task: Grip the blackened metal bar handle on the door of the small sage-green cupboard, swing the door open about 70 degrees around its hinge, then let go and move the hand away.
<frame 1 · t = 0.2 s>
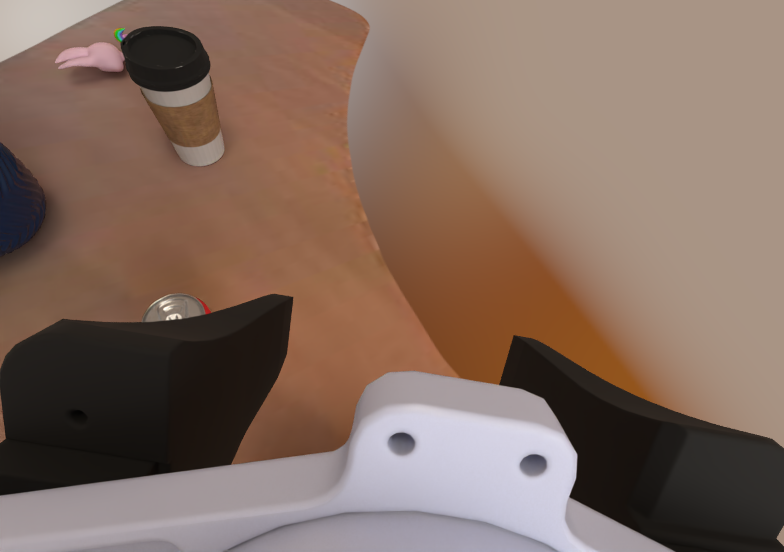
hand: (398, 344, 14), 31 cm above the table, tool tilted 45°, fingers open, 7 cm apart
coffee cup: (202, 151, 58), on the table
lamp: (0, 229, 49), on the table
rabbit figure: (123, 69, 64), on the table
beverage can: (213, 367, 44), on the table
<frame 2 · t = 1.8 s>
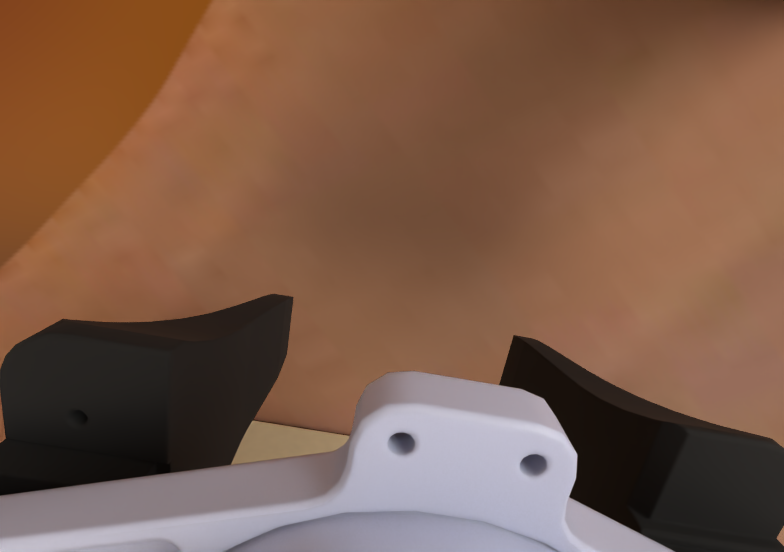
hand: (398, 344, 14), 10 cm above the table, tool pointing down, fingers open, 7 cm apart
door: (248, 447, 21), point 5 cm above the table, hinge at 0.0°
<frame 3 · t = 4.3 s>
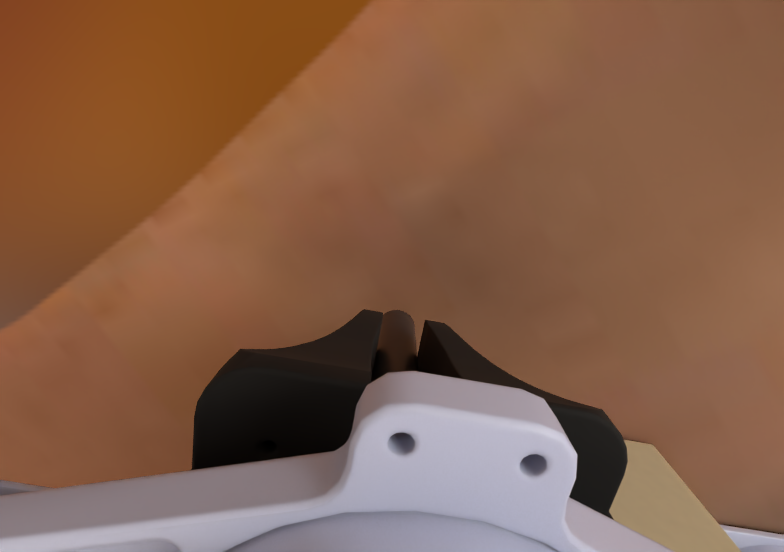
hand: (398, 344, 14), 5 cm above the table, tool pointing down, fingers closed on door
door: (546, 450, 15), point 5 cm above the table, hinge at 0.0°, touching gripper
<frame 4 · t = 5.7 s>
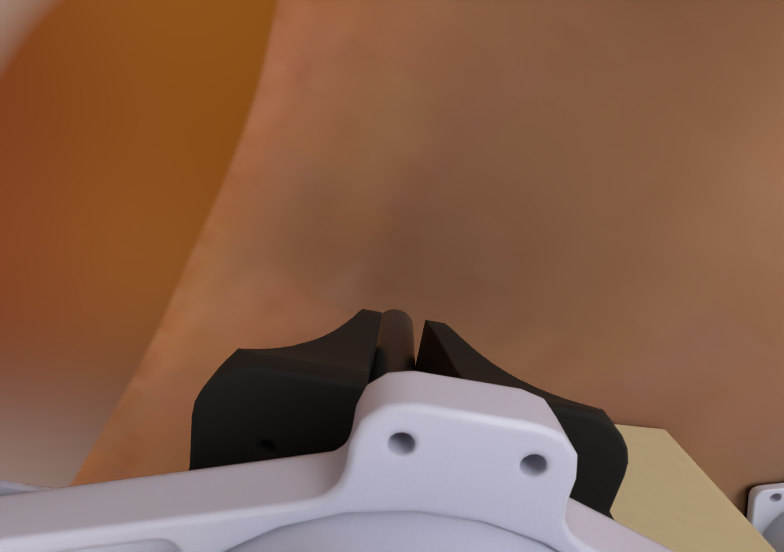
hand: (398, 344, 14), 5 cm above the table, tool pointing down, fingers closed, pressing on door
door: (551, 440, 15), point 5 cm above the table, hinge at 16.2°, touching gripper
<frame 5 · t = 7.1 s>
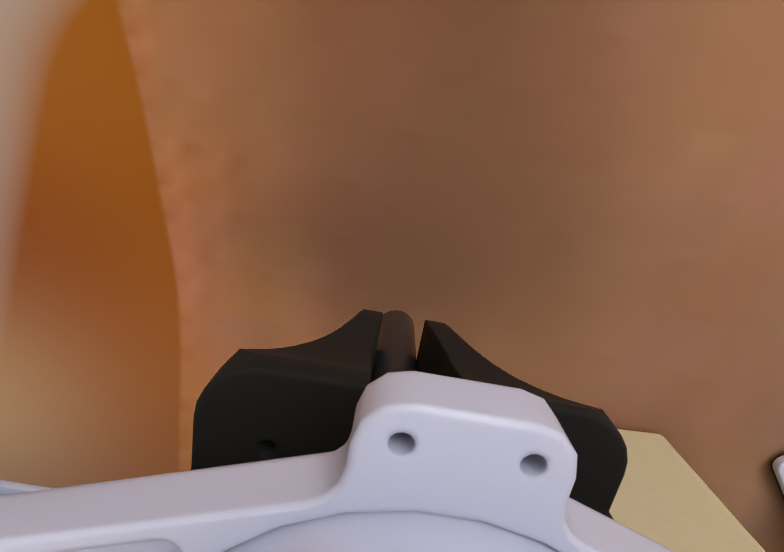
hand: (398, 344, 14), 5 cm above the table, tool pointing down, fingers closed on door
door: (550, 444, 15), point 5 cm above the table, hinge at 37.9°, touching gripper
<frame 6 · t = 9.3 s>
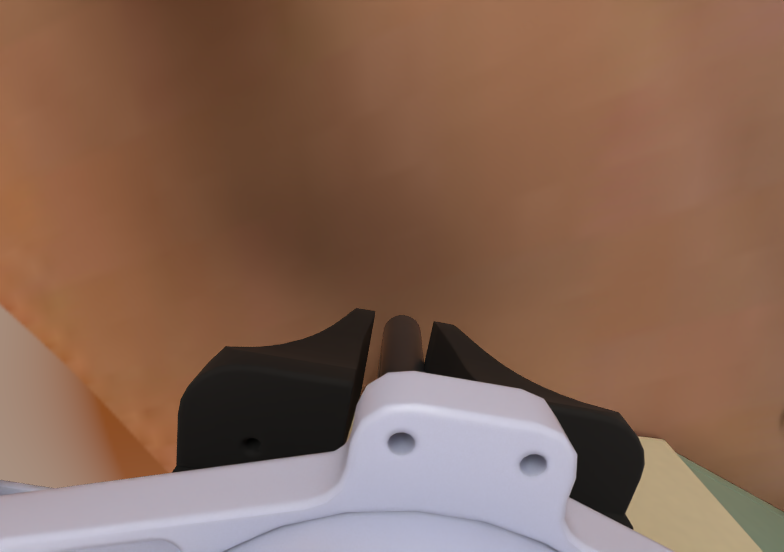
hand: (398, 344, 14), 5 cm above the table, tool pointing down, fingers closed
door: (556, 450, 15), point 5 cm above the table, hinge at 67.8°, touching gripper
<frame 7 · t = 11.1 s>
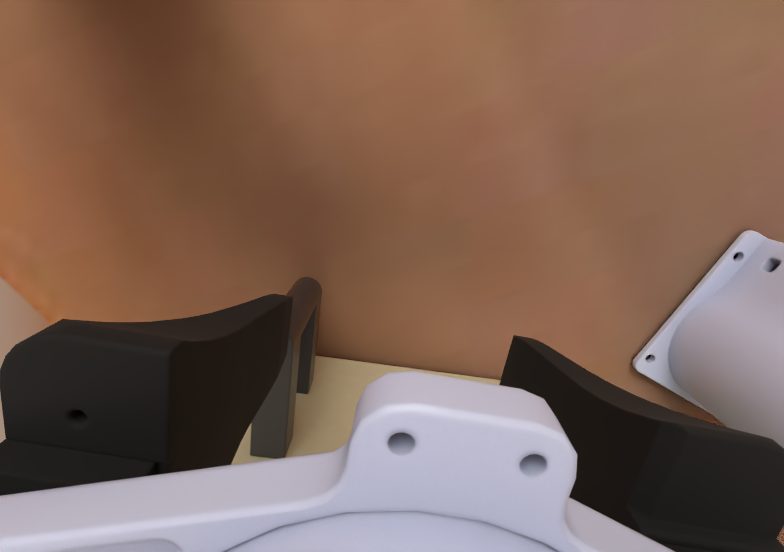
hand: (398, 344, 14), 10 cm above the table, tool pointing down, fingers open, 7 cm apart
door: (417, 377, 20), point 5 cm above the table, hinge at 67.8°
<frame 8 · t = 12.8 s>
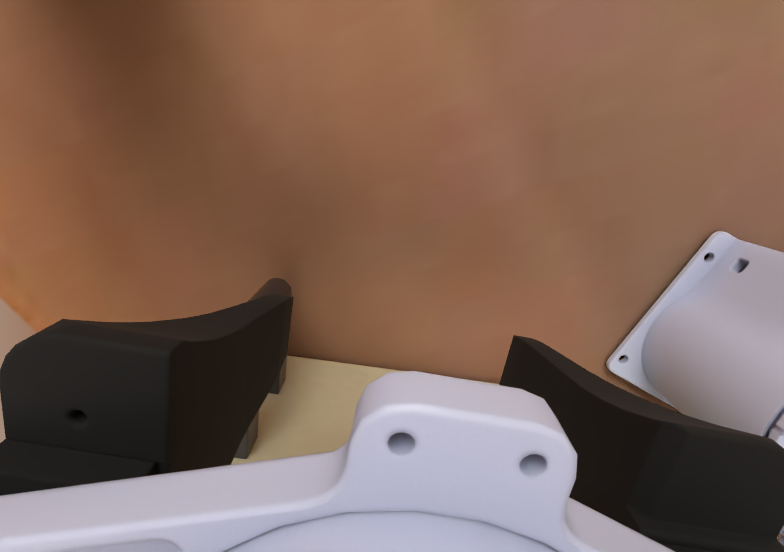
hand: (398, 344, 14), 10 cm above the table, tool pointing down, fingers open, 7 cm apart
door: (384, 377, 20), point 5 cm above the table, hinge at 67.8°
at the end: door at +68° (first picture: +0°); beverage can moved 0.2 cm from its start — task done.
